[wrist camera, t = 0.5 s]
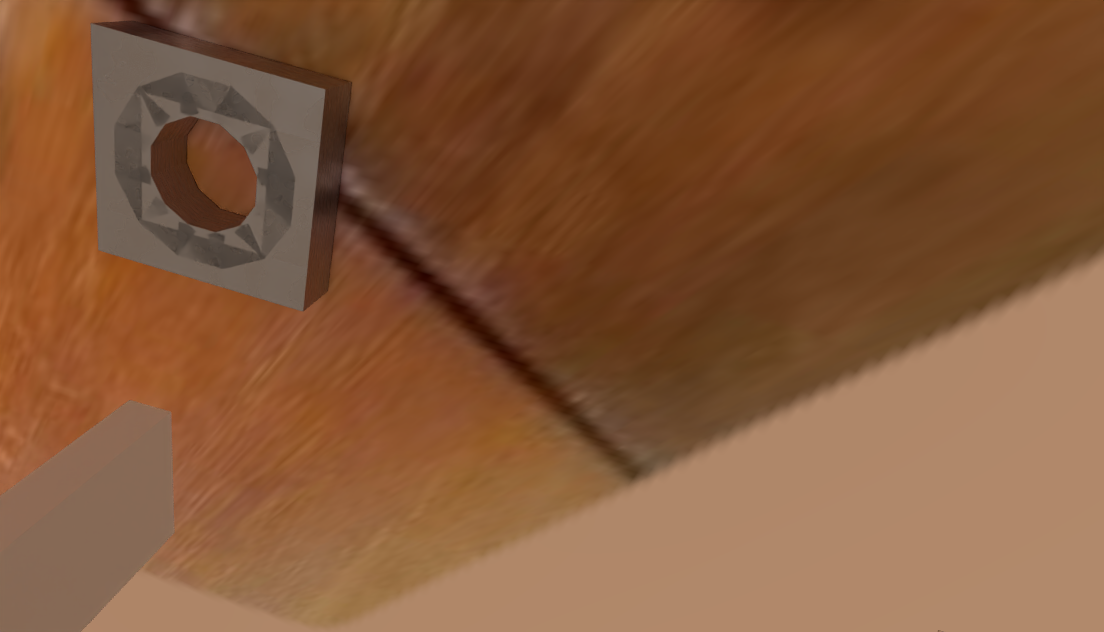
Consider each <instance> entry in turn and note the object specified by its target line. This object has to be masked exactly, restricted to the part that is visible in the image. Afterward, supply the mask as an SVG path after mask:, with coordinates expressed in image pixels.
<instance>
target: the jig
mask: <svg viewBox="0 0 1104 632" xmlns="http://www.w3.org/2000/svg"><path fill="white" fill-rule="evenodd" d="M91 48H92V76H93V105H94V134H95V163H96V192H97V220H98V249H99V250H100V251H103V252H106V253H110V254H113V255H116V256H120V257H123V258H126V259H130V260H133V261H136V262H140V263H143V264H146V265H150V266H153V267H156V268H160V269H163V270H166V271H170V272H173V273H176V274H180V275H183V276H186V277H190V278H193V279H196V280H200V281H203V282H206V283H210V284H213V285H216V286H220V287H223V288H226V289H230V290H233V291H236V292H240V293H243V294H246V295H250V296H253V297H256V298H260V299H263V300H266V301H270V302H273V303H276V304H280V305H283V306H286V307H290V308H293V309H296V310H300V311H304V310H306V309H307V308H308V307H309V306H310V305H312V304H313V303H314V302H315V301H316V300H318V299H319V298H320V297H321V296H322V295H324V294H325V293H326V292H327V291H328V283H329V274H330V265H331V257H332V248H333V239H334V231H335V222H336V214H337V205H338V196H339V188H340V179H341V170H342V162H343V153H344V144H345V136H346V127H347V118H348V110H349V101H350V92H351V84H352V82H348V81H345V80H341V79H338V78H334V77H330V76H327V75H323V74H320V73H316V72H313V71H309V70H306V69H302V68H298V67H295V66H291V65H288V64H284V63H281V62H277V61H274V60H270V59H267V58H263V57H259V56H256V55H252V54H249V53H245V52H242V51H238V50H235V49H231V48H228V47H224V46H220V45H217V44H213V43H210V42H206V41H203V40H199V39H196V38H192V37H188V36H185V35H181V34H178V33H174V32H171V31H167V30H164V29H160V28H157V27H153V26H149V25H146V24H142V23H139V22H135V21H122V22H102V23H91ZM198 118H199V119H203V120H206V121H210V122H213V123H217V124H220V125H221V126H222V127H223V128H224V129H225V130H226V131H227V132H229V133H230V134H231V135H232V136H233V137H234V138H235V139H236V140H237V141H238V142H239V143H241V144H242V145H243V146H244V147H245V150H246V152H247V154H248V157H249V159H250V161H251V164H252V166H253V168H254V171H255V173H256V175H257V189H256V205H255V207H254V208H253V210H252V211H251V212H250V213H249V215H248V216H247V217H246V216H242V215H239V214H235V213H232V212H228V211H225V210H222V209H220V208H219V207H218V206H216V205H215V204H214V203H213V202H212V201H211V200H210V199H209V198H207V197H206V196H205V195H204V194H203V193H202V192H201V191H200V190H199V189H198V187H197V185H196V183H195V181H194V178H193V176H192V174H191V172H190V170H189V168H188V165H187V163H186V154H187V135H188V133H189V132H190V130H191V129H192V127H193V126H194V124H195V123H196V121H197V120H198Z"/></svg>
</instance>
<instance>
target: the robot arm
mask: <svg viewBox="0 0 1104 632" xmlns="http://www.w3.org/2000/svg"><path fill="white" fill-rule="evenodd" d="M173 534H174V499H173V463H172V428H171V412H170V411H166V410H163V409H159V408H156V407H152V406H149V405H145V404H142V403H138V402H135V401H131V400H129V401H128V402H126V403H125V404H123V405H122V406H121V407H119V408H118V409H117V410H115V411H114V412H113V413H111V414H110V415H109V416H107V417H106V418H105V419H103V420H102V421H101V422H99V423H98V424H97V425H95V426H94V427H92V428H91V429H90V430H88V431H87V432H86V433H84V434H83V435H82V436H80V437H79V438H78V439H76V440H75V441H74V442H72V443H71V444H70V445H68V446H67V447H65V448H64V449H63V450H61V451H60V452H59V453H57V454H56V455H55V456H53V457H52V458H51V459H49V460H48V461H47V462H45V463H44V464H43V465H41V466H40V467H38V468H37V469H36V470H34V471H33V472H32V473H30V474H29V475H28V476H26V477H25V478H24V479H22V480H21V481H20V482H18V483H17V484H16V485H14V486H13V487H12V488H10V489H9V490H7V491H6V492H5V493H3V494H2V495H1V496H0V632H81V631H82V630H83V629H84V628H85V627H86V626H87V625H88V624H89V623H90V622H91V621H92V620H93V619H94V618H95V616H96V615H97V614H98V613H99V612H100V611H101V610H102V609H103V608H104V607H105V606H106V605H107V604H108V603H109V602H110V600H112V598H113V597H114V596H115V595H116V594H117V593H118V592H119V591H120V590H121V589H122V588H123V587H124V586H125V585H126V584H127V582H128V581H129V580H130V579H131V578H132V577H133V576H134V575H135V574H136V573H137V572H138V571H139V570H140V569H141V568H142V567H143V566H144V564H145V563H146V562H147V561H148V560H149V559H150V558H151V557H152V556H153V555H154V554H155V553H156V552H157V551H158V550H159V549H160V547H161V546H162V545H163V544H164V543H165V542H166V541H167V540H168V539H169V538H170V537H171V536H172V535H173ZM938 632H943V631H939V630H938Z"/></svg>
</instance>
